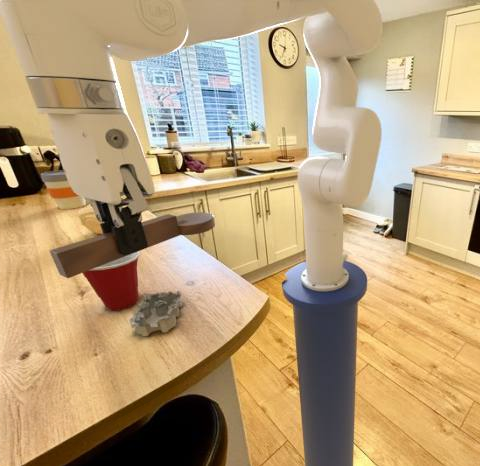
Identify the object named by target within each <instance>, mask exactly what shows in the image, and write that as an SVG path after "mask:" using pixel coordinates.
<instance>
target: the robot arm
mask: <svg viewBox="0 0 480 466" xmlns="http://www.w3.org/2000/svg"><path fill="white" fill-rule="evenodd" d="M0 15H1V17H2V20H3V23H4V25H5V28H6V31H7V33H8V36H9V39H10V41H11V44H12V46H13V48H14V51H15V54H16V57H17V60H18V62H19V65H20V67H21V69H22V73H23V75H24V78H25V81H26V84H27V86H28V88H29V89H28V90H29V91H30V94H31V97H32V99H33V102H34V104H35V108H36V110H37V112H38V114H45V115H47V118H48V123H49V126H50V130H51V134H52V138H53V141H54V145H55V149H56V151H57V154H58V158H59V160H60V163H61V167H62V170H64V172H65V175H66V177H67V180H68V182H69V184H70V186H71V188H72V190H73V191H74V193H76V194H77V195H79V196H82V197H84V199H85V201H86V202H88V203H89V204H90V205H91V206H92V207H93V210H94V213H95V216H96V218H97V220H98V221H99V222H100V223H101V224H100V226H101V229H102V232H103V234H105V233H108V232H111V231H113V233H114V236H115V239H116V242H117V245H118V248H119V251H120V254H121V255H124V256H127V255H129V254H132V253H135V252H137V251H140V252H141V251H143V250H146V249H148V248H149V247H148V243H147V240H146V237H145V233H144V230H143V226H142V223H141V222H143V216H142V215H143V213H144V212H146V211H148V210H150V207H149V204H148V202H147V200H146V198H151V197H153V196H154V195H155V193H156V189H155V184H154V181H153V178H152V177H153V176H152V174H151V170H150V167H149V164H148V161H147V158H146V156H145V151H144V149H143V147H142V144H141V140H140V139H139V136H138V133H137V131H136V129H135V127H134V124H133V122H132V120H131V119H130V117H129V114H128V111H127V109H126V105H125V101H124V98H123V93H122V90H121V86H120V83H119V79H118V75H117V72H116V67H115V63H114V60H113V57H114V58H118V59H120V60H124V61H127V62H140V61H143V60H147V59H152V58H158V57H163V56H167V55H170V54H172V53H174V52H176V51H177V50H180V49H184V48H188V47H192V46H196V45H200V44H205V43H210V42H218V41H226V40H233V39H236V38H237V39H238V38H240V37H244V36H248V35H252V34H255V33H258V32H261V31H266V30H268V29H271V28H275V27H279V26H281V25H285V24H288V23H292V22H295V21H299V20H302V19H305V20H304V22H303V28H302V29H303V30H302V32H303V33H302V34H303V39H304V44H305V46H306V48H307V50H308V52H309V54H310V57H311V58H312V61H313V63H314V65H315V67H316V70H317V73H318V78H319V88H318V96H317V101H316V107H315V111H314V118H313V124H312V130H311V131H312V132H311V133H312V136H311V139H312V142H313V144H314V145H315V147H316V148H318V149H319V150H322V151H324V152H329V153H335V154H344V155H345V158H344V159H340V158H334V157H326V156H313V157H310V158H307V159H306V160H304V161H303V162H302V163H301V164H300V166H299V168H298V170H297V186H298V190H299V194H300V198H301V203H302V210H303V224H304V246H305V262H306V267H307V269H306V270H304V271H303V273H302V275H301V281H302V284H303V285H304V286H305V287H307V288H309V289H311V290H314V291H321V292H326V291H333V290H337V289H339V288H341V287H343V286H344V285H345V284H346V283H347V282H348V280H349V274H348V272H347V270H346V269H344V268H343V263H344V261H347V259H348V258H349V255H348V254H347V253H346V252H344V212H343V209H342V207H341V205H343V206H347V207H358V206H362V204H364V203H365V202H366V200H367V199H368V197H369V195H370V192H371V189H372V185H373V181H374V176H375V171H376V167H377V163H378V158H379V153H380V149H381V142H382V124H381V120H380V117H379V116H378V114H377V113H376V112H375V111H374V110H373V109H371V108H367V107H361V106H357V100H358V95H359V94H358V93H359V83H358V79H357V77H356V74H355V72H354V70H353V68H352V66H351V63H350V62H349V61H348V59H347V57H351V56H357V55H365V54H368V53H371V52H372V51H374V50H375V49H376V48H377V47H378V46H379V44H380V42H381V39H382V35H383V29H384V27H383V18H382V14H381V12H380V8H379V6H378V3H376V0H0ZM123 197H124V198H123ZM102 222H104V223H102ZM147 247H148V248H147ZM145 248H146V249H145ZM142 249H143V250H142Z"/></svg>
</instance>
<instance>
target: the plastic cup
mask: <svg viewBox="0 0 480 466" xmlns="http://www.w3.org/2000/svg"><path fill="white" fill-rule="evenodd" d="M140 252H141V250H140V251H138V252H135V253H133V254H130V255H127V256H125V257H122V258H120V259H117V260H114V261H112V262H109V263H107V264H104V265H101V266H99V267H96V268H94V269H91V270H88V271H86V272H83V273H82V275H83V276H84V278H85V279H86V280H87V282H88V283H89V285H90V286H91V288H92V289H93V291H94V293H95V294H96V296H97V297H98V298H99V299H100V300H101V302H102V303H103V305H104V307H106V308H107V310H109V311H122V310H125V309H128V308H130V307H132V306H134V305H135V304H137V302H138V301H139V279H138V278H139V277H138V262H139V257H140V256H141V253H140Z"/></svg>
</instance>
